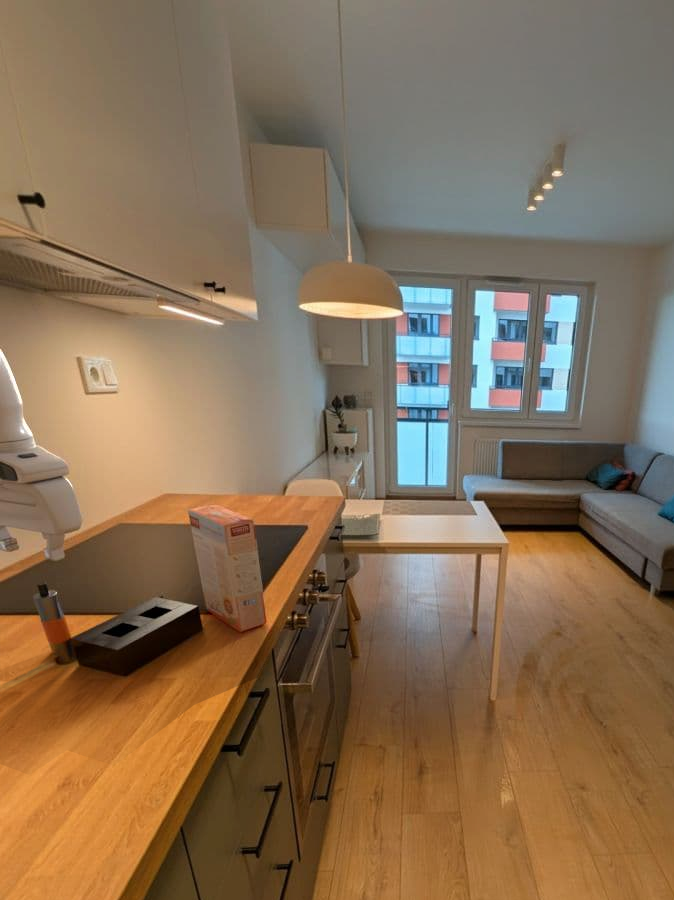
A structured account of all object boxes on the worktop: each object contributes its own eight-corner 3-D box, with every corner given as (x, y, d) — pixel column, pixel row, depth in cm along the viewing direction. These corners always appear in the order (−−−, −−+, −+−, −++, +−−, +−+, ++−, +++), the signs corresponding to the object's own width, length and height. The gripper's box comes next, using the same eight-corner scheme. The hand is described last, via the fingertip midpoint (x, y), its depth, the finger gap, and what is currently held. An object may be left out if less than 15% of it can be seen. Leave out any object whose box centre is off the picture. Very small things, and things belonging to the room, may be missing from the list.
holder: (78, 664, 83) (69, 638, 81) (161, 620, 97) (155, 596, 95) (125, 677, 80) (117, 650, 78) (203, 629, 95) (198, 605, 93)
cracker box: (269, 623, 98) (255, 518, 89) (239, 634, 94) (221, 525, 85) (233, 601, 106) (217, 502, 97) (205, 610, 102) (185, 508, 93)
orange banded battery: (50, 662, 83) (23, 585, 77) (69, 653, 86) (44, 578, 80) (65, 666, 82) (38, 589, 76) (82, 657, 85) (58, 581, 79)
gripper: (-78, 457, 70) (-39, 551, 76) (29, 471, 65) (61, 571, 71) (-26, 451, 76) (6, 539, 82) (76, 463, 70) (103, 557, 76)
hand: (33, 554), depth 76 cm, fingers open, 8 cm apart
